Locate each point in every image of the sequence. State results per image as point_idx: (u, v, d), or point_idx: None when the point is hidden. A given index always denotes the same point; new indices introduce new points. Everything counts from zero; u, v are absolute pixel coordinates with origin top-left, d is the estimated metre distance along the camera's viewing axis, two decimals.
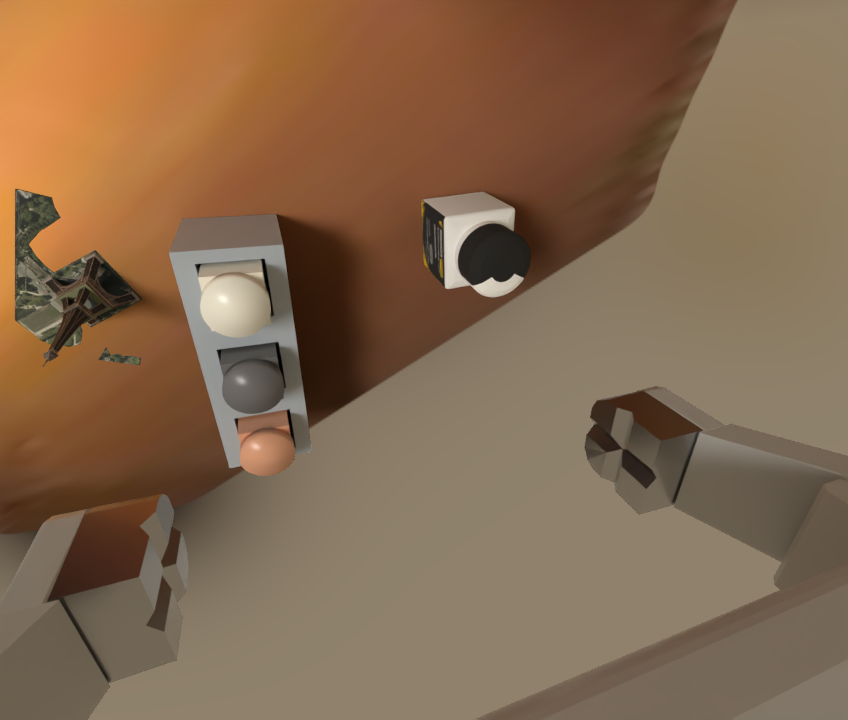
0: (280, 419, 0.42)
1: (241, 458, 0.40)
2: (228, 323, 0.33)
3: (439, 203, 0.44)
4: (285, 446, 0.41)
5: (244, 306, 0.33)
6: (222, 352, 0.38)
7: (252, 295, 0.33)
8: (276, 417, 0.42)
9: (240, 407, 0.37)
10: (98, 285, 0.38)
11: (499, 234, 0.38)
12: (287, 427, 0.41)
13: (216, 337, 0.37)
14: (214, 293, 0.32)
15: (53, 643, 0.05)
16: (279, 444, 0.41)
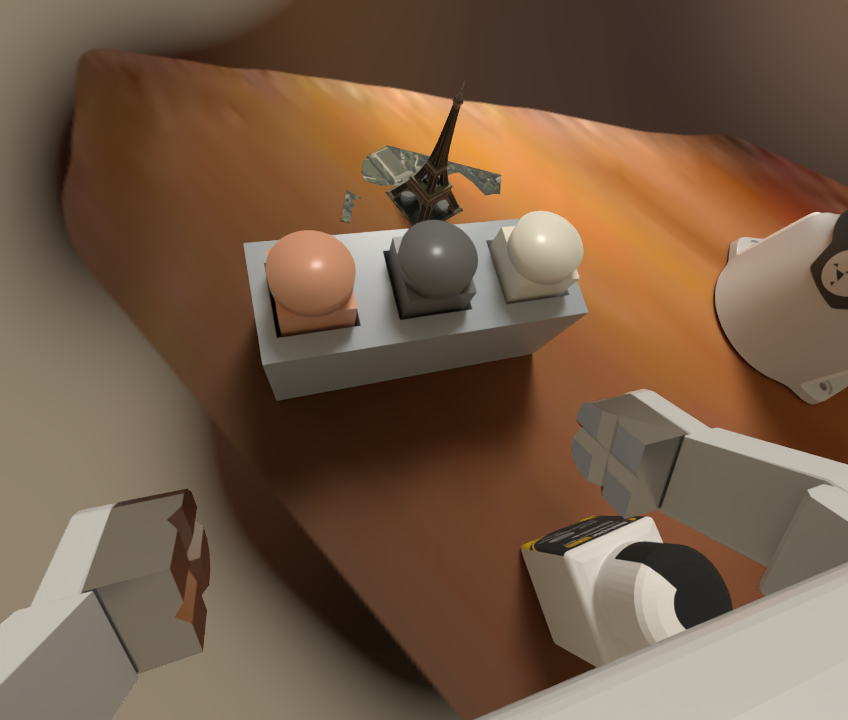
0: None
1: (311, 232, 0.25)
2: (530, 234, 0.29)
3: None
4: (332, 293, 0.24)
5: (553, 250, 0.29)
6: None
7: (568, 258, 0.29)
8: None
9: (410, 237, 0.27)
10: (444, 197, 0.41)
11: None
12: (353, 306, 0.26)
13: None
14: (561, 224, 0.29)
15: (87, 633, 0.05)
16: (337, 284, 0.25)
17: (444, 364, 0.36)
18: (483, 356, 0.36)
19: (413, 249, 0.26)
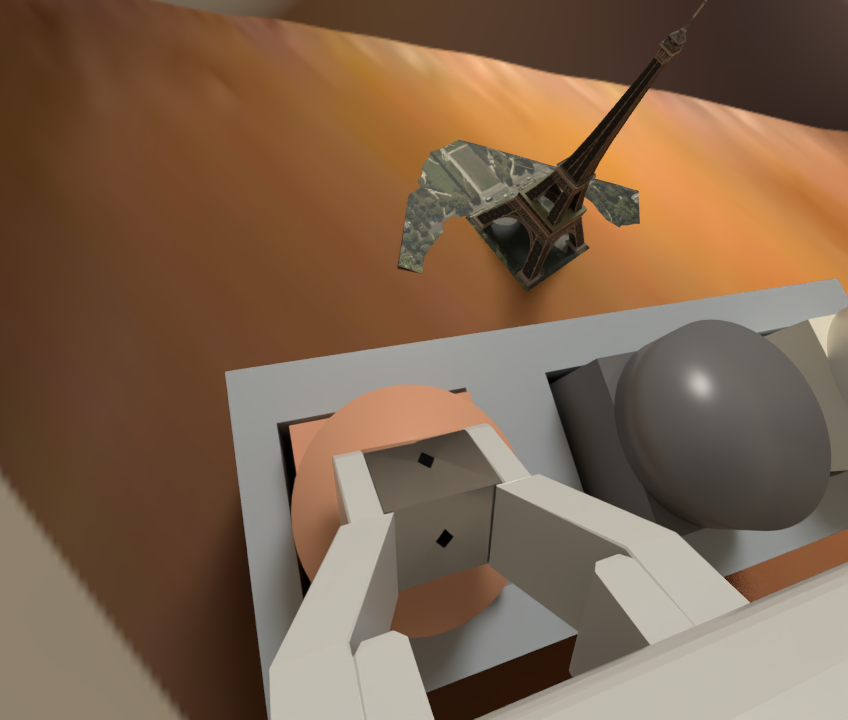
0: None
1: (409, 391, 0.10)
2: None
3: None
4: (476, 576, 0.09)
5: None
6: None
7: None
8: None
9: (668, 373, 0.10)
10: (570, 229, 0.24)
11: None
12: None
13: None
14: None
15: (392, 547, 0.06)
16: None
17: None
18: None
19: (681, 408, 0.10)
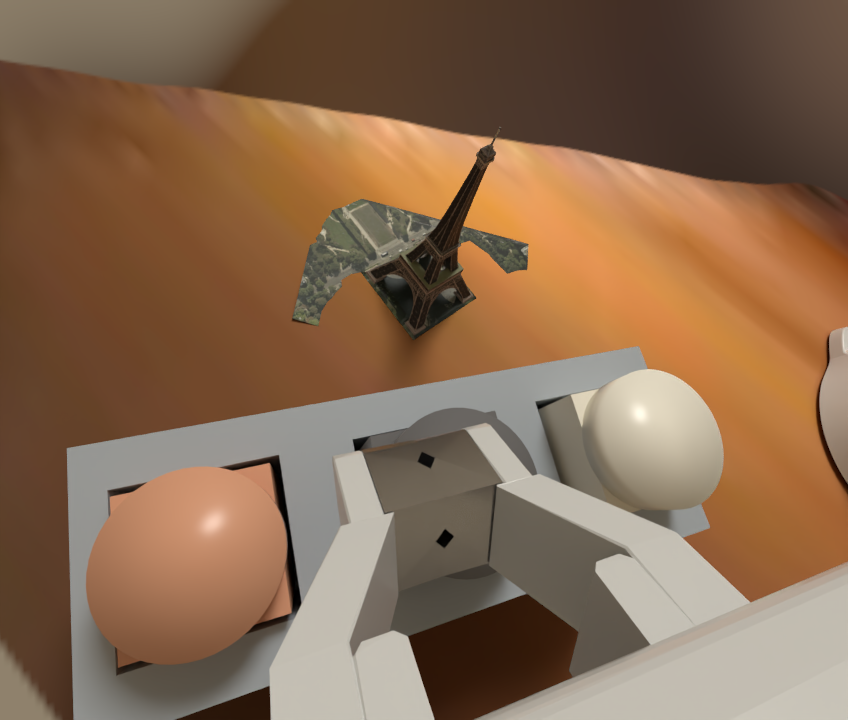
0: (289, 584, 0.14)
1: (199, 471, 0.13)
2: (631, 420, 0.15)
3: None
4: (233, 616, 0.12)
5: (673, 451, 0.15)
6: None
7: (700, 466, 0.15)
8: (287, 571, 0.15)
9: None
10: (450, 285, 0.27)
11: None
12: (282, 610, 0.13)
13: (507, 413, 0.18)
14: (681, 395, 0.16)
15: (392, 547, 0.06)
16: (244, 592, 0.12)
17: None
18: None
19: None
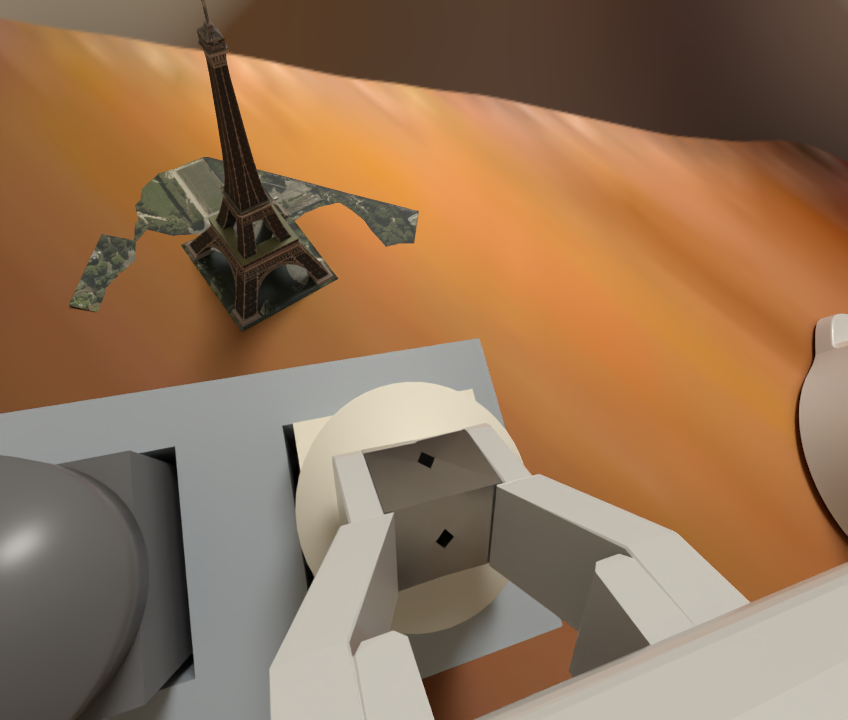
0: None
1: None
2: None
3: None
4: None
5: None
6: (161, 465, 0.11)
7: None
8: None
9: None
10: (286, 261, 0.21)
11: None
12: None
13: (227, 445, 0.11)
14: (467, 424, 0.10)
15: (392, 547, 0.06)
16: None
17: None
18: None
19: None
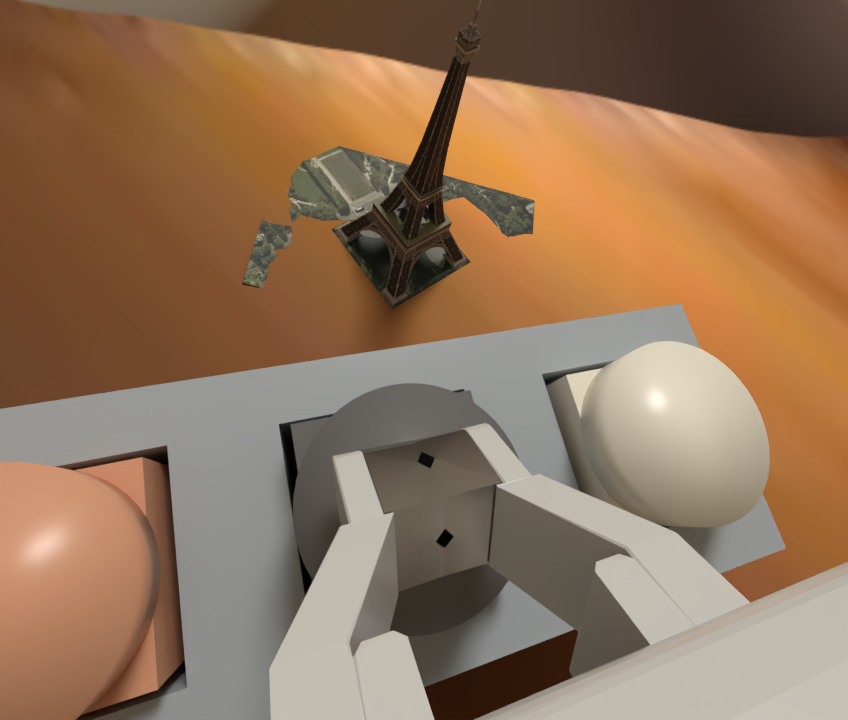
0: (171, 637, 0.10)
1: (3, 470, 0.08)
2: (645, 407, 0.11)
3: None
4: (34, 709, 0.07)
5: (702, 448, 0.11)
6: None
7: (738, 469, 0.11)
8: (175, 616, 0.10)
9: (331, 450, 0.09)
10: (436, 243, 0.22)
11: None
12: (143, 686, 0.08)
13: (503, 389, 0.13)
14: (712, 374, 0.12)
15: (391, 547, 0.06)
16: (58, 668, 0.07)
17: None
18: None
19: None
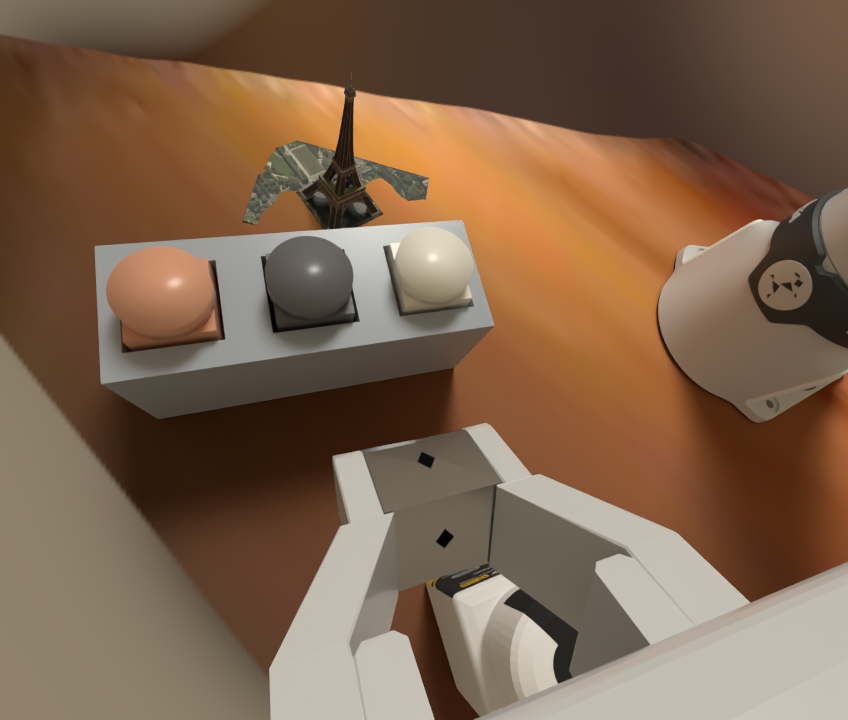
0: (218, 326, 0.25)
1: (165, 249, 0.23)
2: (415, 251, 0.27)
3: None
4: (181, 314, 0.23)
5: (440, 268, 0.27)
6: None
7: (455, 277, 0.27)
8: (219, 324, 0.26)
9: (279, 255, 0.25)
10: (357, 200, 0.38)
11: None
12: (211, 328, 0.24)
13: (362, 250, 0.28)
14: (452, 241, 0.28)
15: (392, 547, 0.06)
16: (187, 305, 0.23)
17: (348, 379, 0.33)
18: (393, 371, 0.34)
19: (280, 267, 0.25)
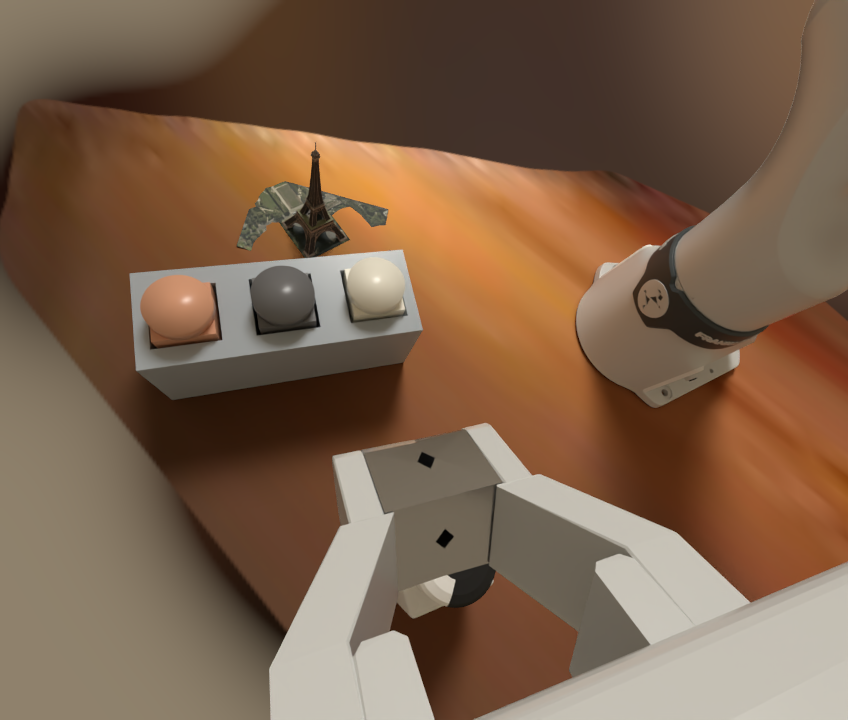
0: (217, 330, 0.35)
1: (180, 276, 0.33)
2: (361, 275, 0.37)
3: None
4: (191, 323, 0.33)
5: (379, 288, 0.37)
6: None
7: (390, 295, 0.37)
8: (218, 328, 0.36)
9: (260, 279, 0.35)
10: (327, 229, 0.48)
11: None
12: (212, 332, 0.34)
13: (324, 274, 0.38)
14: (389, 268, 0.38)
15: (392, 547, 0.06)
16: (196, 316, 0.33)
17: (317, 371, 0.43)
18: (352, 364, 0.44)
19: (261, 288, 0.35)
